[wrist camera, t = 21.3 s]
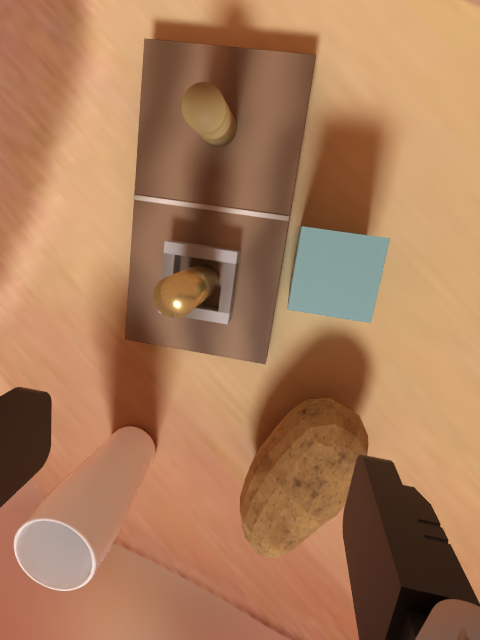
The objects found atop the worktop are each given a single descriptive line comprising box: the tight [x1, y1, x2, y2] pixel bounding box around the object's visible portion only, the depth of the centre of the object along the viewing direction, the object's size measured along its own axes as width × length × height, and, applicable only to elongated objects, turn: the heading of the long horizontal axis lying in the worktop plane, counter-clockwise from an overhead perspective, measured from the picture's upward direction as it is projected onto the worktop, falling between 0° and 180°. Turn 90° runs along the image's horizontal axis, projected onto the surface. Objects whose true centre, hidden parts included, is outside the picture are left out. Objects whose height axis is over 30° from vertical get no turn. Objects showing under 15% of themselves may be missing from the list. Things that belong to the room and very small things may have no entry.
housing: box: [288, 226, 390, 323], centre depth 31 cm, size 6×6×9 cm
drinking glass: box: [14, 426, 155, 591], centre depth 36 cm, size 7×7×15 cm
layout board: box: [125, 39, 316, 364], centre depth 32 cm, size 14×26×8 cm, turn 172°
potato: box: [240, 398, 368, 559], centre depth 36 cm, size 9×16×9 cm, turn 145°
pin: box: [153, 264, 219, 318], centre depth 31 cm, size 3×3×9 cm
